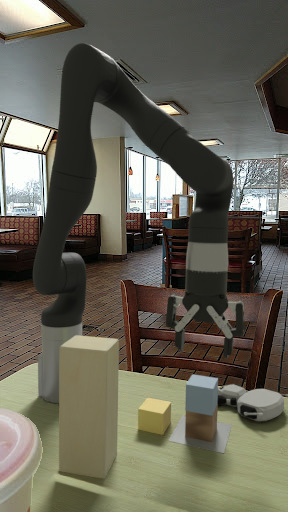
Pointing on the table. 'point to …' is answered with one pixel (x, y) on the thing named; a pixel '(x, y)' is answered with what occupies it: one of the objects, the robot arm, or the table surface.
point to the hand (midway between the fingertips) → (203, 353)
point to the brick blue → (201, 394)
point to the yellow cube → (154, 416)
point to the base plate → (215, 445)
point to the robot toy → (252, 402)
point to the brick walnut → (201, 425)
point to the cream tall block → (88, 405)
